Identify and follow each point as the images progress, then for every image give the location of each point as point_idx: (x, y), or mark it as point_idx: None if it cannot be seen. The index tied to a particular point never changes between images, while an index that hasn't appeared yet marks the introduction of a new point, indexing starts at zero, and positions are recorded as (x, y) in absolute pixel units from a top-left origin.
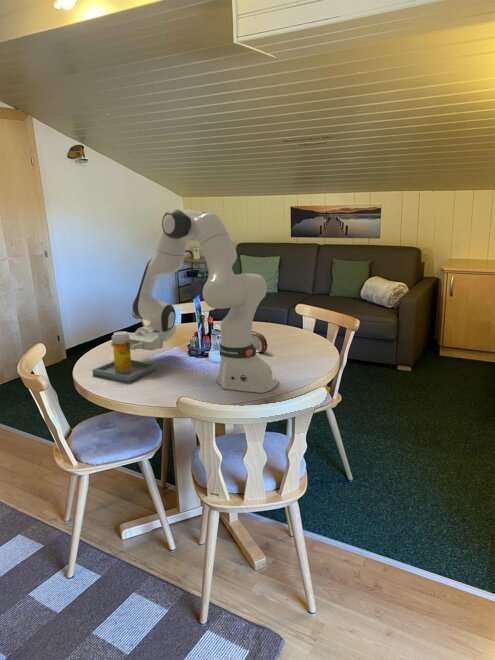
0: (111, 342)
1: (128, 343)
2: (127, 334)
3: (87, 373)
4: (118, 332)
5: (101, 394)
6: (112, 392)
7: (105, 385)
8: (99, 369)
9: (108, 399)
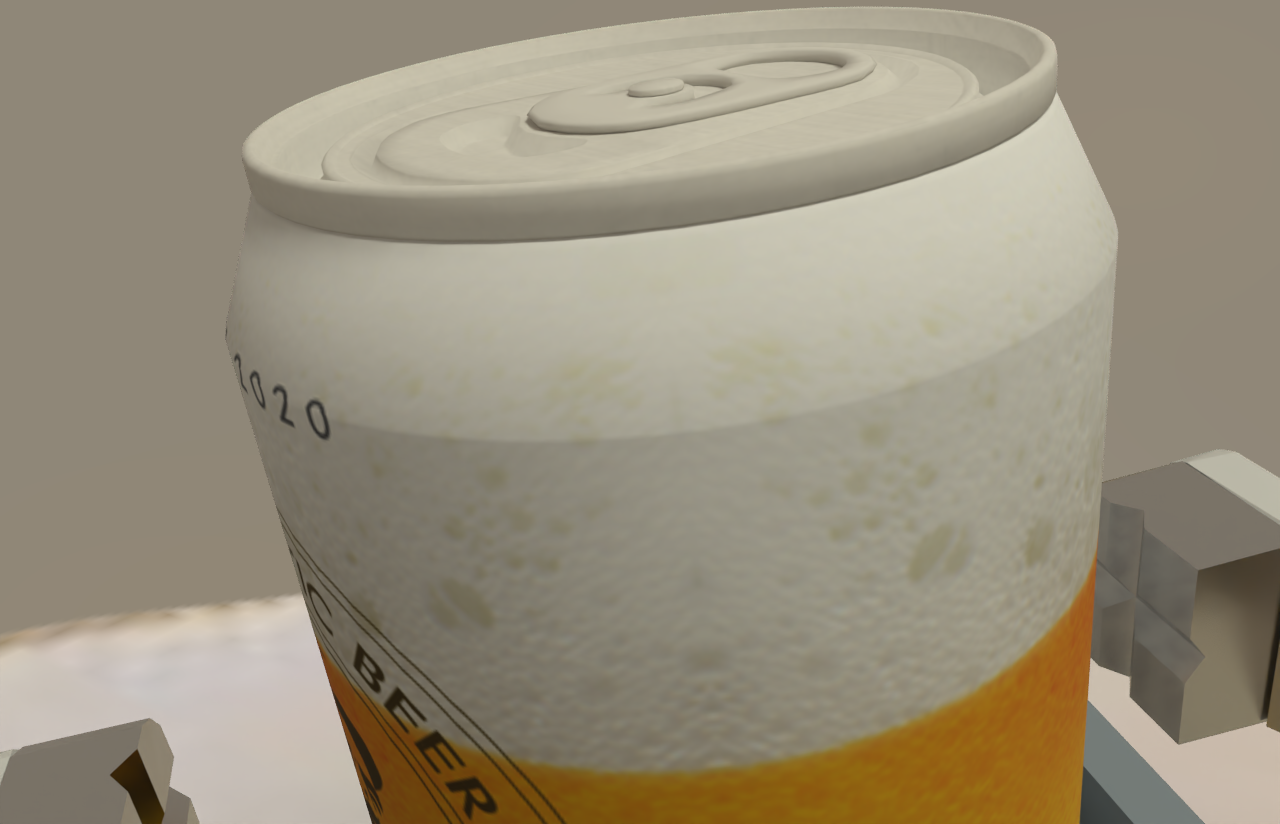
0: (1197, 458)
1: (332, 679)
2: (261, 231)
3: (1270, 763)
4: (969, 77)
5: (258, 624)
6: (165, 717)
7: None
8: (1098, 813)
9: (71, 625)
